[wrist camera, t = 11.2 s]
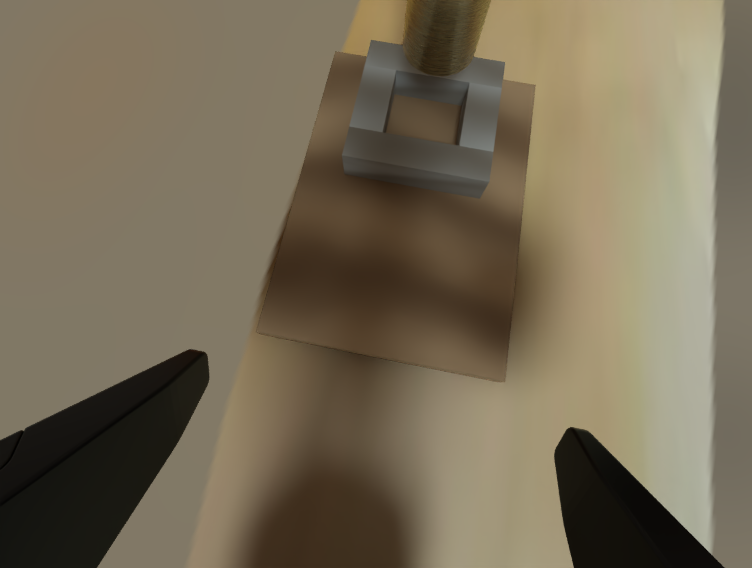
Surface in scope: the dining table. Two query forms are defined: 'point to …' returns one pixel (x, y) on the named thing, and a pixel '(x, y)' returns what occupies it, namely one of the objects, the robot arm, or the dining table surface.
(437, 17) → the tan cylinder
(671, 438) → the dining table surface
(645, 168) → the dining table surface
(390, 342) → the walnut eye plate
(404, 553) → the dining table surface
